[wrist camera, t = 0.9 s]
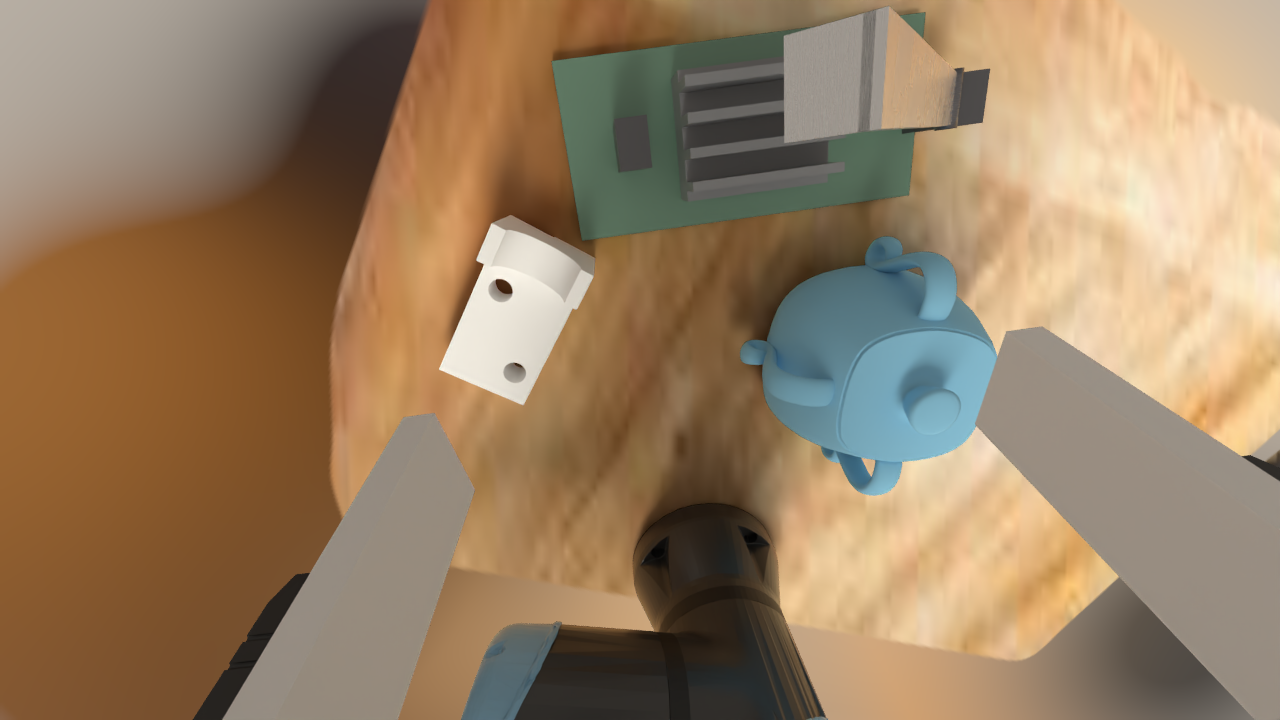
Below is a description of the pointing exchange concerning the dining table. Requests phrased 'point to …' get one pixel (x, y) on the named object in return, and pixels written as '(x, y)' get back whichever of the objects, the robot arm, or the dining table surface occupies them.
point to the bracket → (517, 308)
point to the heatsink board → (659, 183)
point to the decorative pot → (877, 363)
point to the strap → (866, 79)
